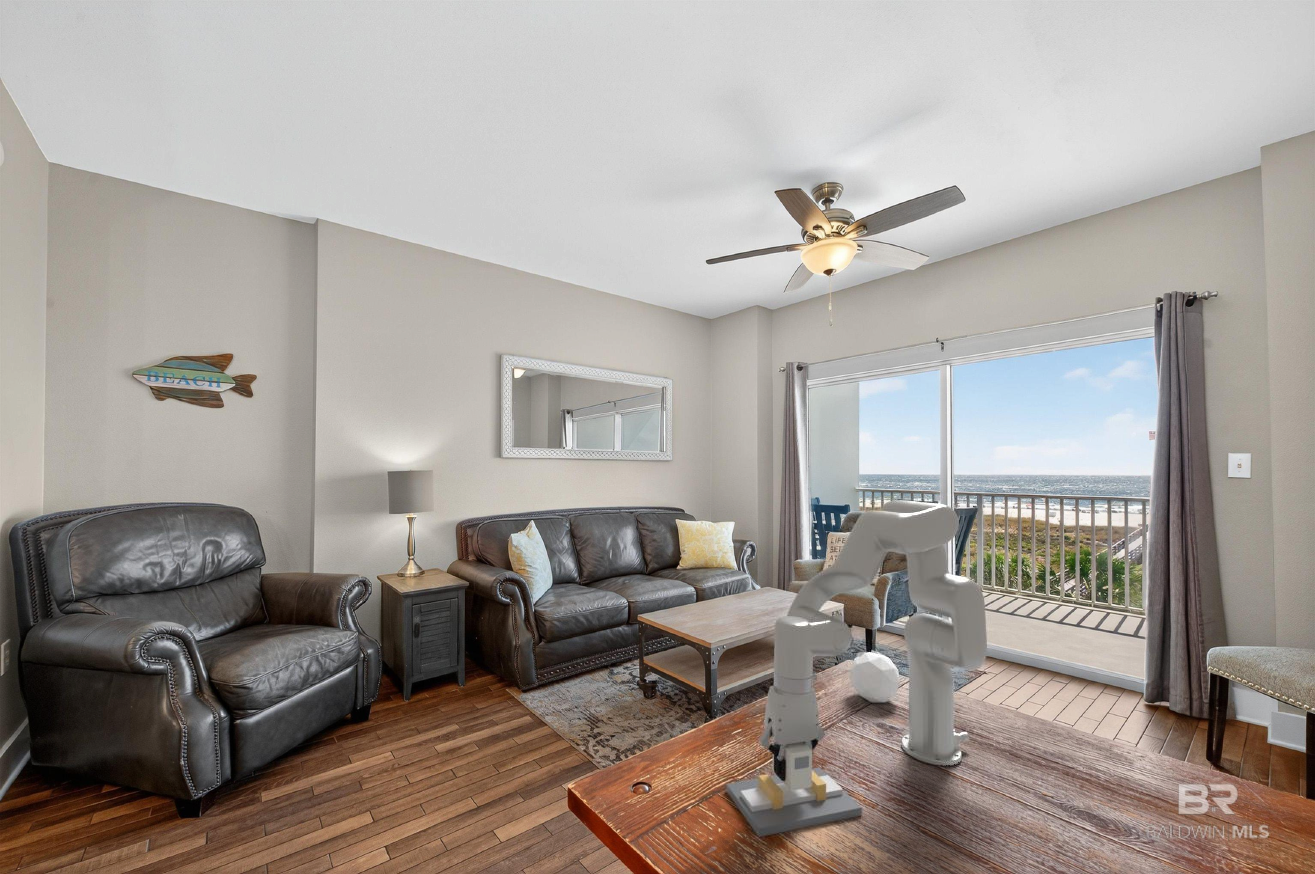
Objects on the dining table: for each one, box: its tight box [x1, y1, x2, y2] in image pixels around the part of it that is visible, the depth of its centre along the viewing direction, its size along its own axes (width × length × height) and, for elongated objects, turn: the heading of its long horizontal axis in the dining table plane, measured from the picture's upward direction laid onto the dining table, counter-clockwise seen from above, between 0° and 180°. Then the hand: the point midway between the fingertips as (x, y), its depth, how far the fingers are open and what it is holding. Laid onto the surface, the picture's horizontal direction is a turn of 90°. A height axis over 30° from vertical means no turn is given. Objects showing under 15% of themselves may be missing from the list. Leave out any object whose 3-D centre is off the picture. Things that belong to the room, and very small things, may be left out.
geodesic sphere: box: [849, 649, 901, 703], centre depth 156 cm, size 14×14×14 cm
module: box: [771, 736, 813, 791], centre depth 108 cm, size 5×7×7 cm, turn 17°
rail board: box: [725, 767, 863, 838], centre depth 108 cm, size 22×14×4 cm, turn 107°
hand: (791, 773), depth 108 cm, fingers closed on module, 4 cm apart
